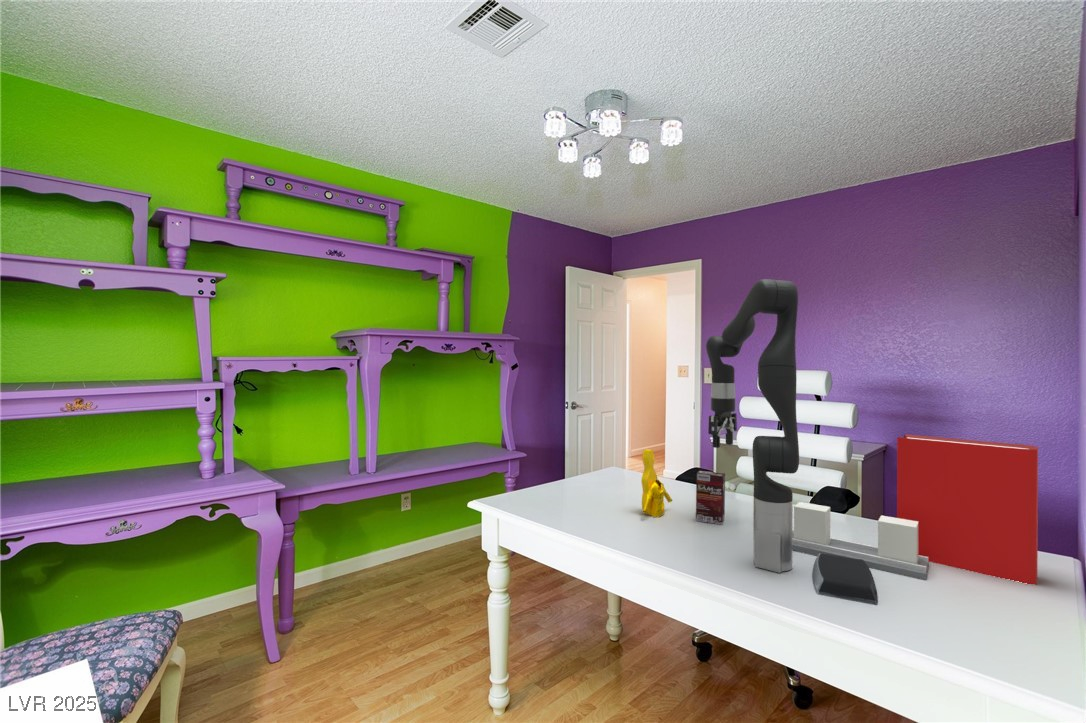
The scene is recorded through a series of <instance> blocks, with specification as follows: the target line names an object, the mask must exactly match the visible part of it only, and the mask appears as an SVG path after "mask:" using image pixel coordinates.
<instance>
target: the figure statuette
mask: <svg viewBox="0 0 1086 723" xmlns="http://www.w3.org/2000/svg"><path fill="white" fill-rule="evenodd" d="M642 463H643V466H644V469H643V472H642V475H641V487H642V495H641V496H642V497H641V509H642V513H643V514H644V515H649V516H652V517H653V518H661V516H663V515H664V514H665V501H664V498H665V499H666V501H667V503H672V502H673V499H672V497H671V495H670V494H669V493H668V492H667V490H666V488H665V486H664V485H665V484H664V483H663V482H662V481H660V479H659V478H658V475H657V472H656V471H655V468H654V464H655V454H654V450H653V449H647V448H646V449H643V451H642Z"/></svg>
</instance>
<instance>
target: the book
mask: <svg viewBox="0 0 1086 723" xmlns="http://www.w3.org/2000/svg"><path fill="white" fill-rule="evenodd" d="M896 441H897V443H896V445H897V446H896V448H897V449H896V455H897V456H896V457H897V459H896V460H897V461H896V463H897V466H896V467H897V468H896V481H897V483H896V488H897V489H896V518H900V519H906V520H912V521H918V555H920V556H925V557H928V559H929V563H934V564H937V565H943V566H947V567H951V568H955V569H959V568H960V570H963V569H965V570H964V571H968V570H969V571H968V572H972V571H973V573H976V572H977V574H980V573H981V575H986V576H989V575H990V576H989V577H993V576H995V578H998V577H1000V578H999V579H1002V578H1005V579H1004V580H1006V579H1010V580H1009V581H1011V580H1014V581H1013V582H1015V581H1019V582H1022V583H1021V584H1023V583H1027V584H1026V585H1028V584H1036V583H1037V582H1038V560H1039V559H1038V548H1039V547H1038V544H1039V543H1038V542H1039V538H1038V536H1039V535H1038V534H1039V533H1038V532H1039V531H1038V528H1039V526H1038V525H1039V523H1038V522H1039V521H1038V520H1039V519H1038V518H1039V514H1038V512H1039V511H1038V510H1039V499H1038V498H1039V446H1035V445H1031V444H1030V445H1029V444H1020V443H1019V444H1018V443H1007V442H997V441H984V440H975V439H974V440H973V439H963V438H962V439H961V438H951V437H950V438H949V437H940V436H939V437H938V436H931V435H929V436H928V435H919V434H918V435H917V434H906V433H904V434H903V437H901V436H900V437H899V436H897V439H896ZM1019 582H1018V583H1019ZM1036 585H1037V584H1036Z"/></svg>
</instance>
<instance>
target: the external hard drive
mask: <svg viewBox="0 0 1086 723" xmlns="http://www.w3.org/2000/svg"><path fill="white" fill-rule="evenodd" d="M812 566H813V567H812V571H811V574H812V575H811V576H812V577H811V578H812V584H813V587H814V591H815V593H816V594H817V595H820V596H825V597H826V596H827V597H831V598H838V599H842V600H846V601H847V600H848V601H852V602H859V603H863V604H868V605H875V606H878V604H879V599H878V590H877V587H876V582H875V578H874V576H873V574H872V571H871V568H869V567H868V565H867V564H866V563H865V561H864V560H862V559H855V558H848V557H841V556H835V555H829V554H822V553H819V554H818V556H816V558H815V561H814V563H813V565H812Z"/></svg>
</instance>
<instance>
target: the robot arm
mask: <svg viewBox="0 0 1086 723" xmlns="http://www.w3.org/2000/svg"><path fill="white" fill-rule="evenodd" d="M798 306H799V293H798V287H797V285H796V284H795V283H794V282H793V281H790V280H779V279H771V278H762V279H759V280H757V281H756V282H755V283H754V284H753V286H752V287H751V288H750V290H749V292H748V294H747V295H746V297H745V298H744V300H743V302H742V304H741V306H740V308H739V310H738V311H737V314H736V315H735V317H734V318H733V319H732V320H731V321H730V322H729V323H728V324H727V325H726V326H725V328H724V329H723V330H722V332H721V335H712V336H710V337H709V338H708V339H707V340H706V343H705V344H706V346H705V349H706V353H707V356H708V361H709V364H710V368H711V385H710V386H711V387H710V388H711V389H710V410H711V411H712V412H714V415H709V416H708V434H709V435H710V436H712V447H713V449H714V448H715V449H719V448H720V447H721V436H720V435H721V434H722V432H723V431H725V445H729V446H733V445H734V433H735V432H737V430H738V424H737V423H738V422H737V421H738V420H737V417H738V416H737V413H735V411H736V386H735V367H734V365H732V364H726V363H724V362H723V361H722V359H721V358H734V357H736V356H738V355H739V354H740V352H741V350H742V347H743V345H744V343H745V342H746V341H747V339H748V338H750V337H751V335H752V334H753V333H754V330H755V327H756V321H755V316H756V315H757V314H758V313H761V314H770V315H776V321H777V322H776V328H775V332H774V334H773V336H772V338H771V339H770V341H769V343H768V344H767V346H766V347H765V348H764V349H763V352H762V353H761V355H760V357H759V359H758V363H757V384H758V388H759V390H760V392H761V394H762V396H763V397H764V399H765V400H766V401H767V403H768V404H769V406H770V407H771V408H772V409H773V411H774V413H775V414H776V417H777V418H778V420H779V422H780V424H781V427H782V431H783V436H777V435H776V436H775V435H774V436H773V435H771V436H770V435H757V436H755V437H754V439H753V442H752V465H753V517H752V518H753V520H752V521H753V533H752V534H753V536H752V537H753V539H752V540H753V543H752V544H753V555H752V557H753V560H752V561H753V564H754V567H755V568H760V569H762V570H768V571H770V572H775V573H780V574H781V573H782V572H788V571H791V570H792V569H793V550H792V531H793V513H794V506H793V504H794V502H793V501H794V500H793V490H792V489H791V487H789V486H787V485H785V484H782V483H780V482H778V481H775V480H774V479H773V478H771V477H769V476H768V474H767V473H779V474H789V475H790V474H795V473H796V472H798V470H799V467H800V466H799V465H800V450H799V449H800V446H799V445H800V444H799V435H798V422H797V358H796V356H797V355H796V331H797V320H798V319H797V317H798Z"/></svg>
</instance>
